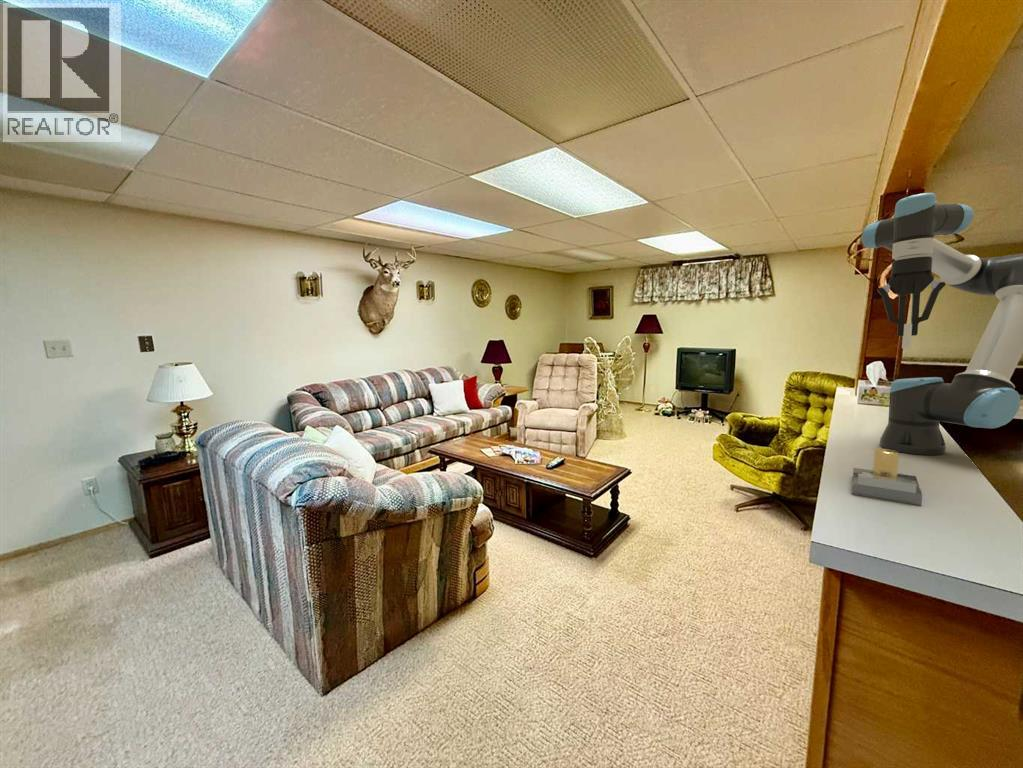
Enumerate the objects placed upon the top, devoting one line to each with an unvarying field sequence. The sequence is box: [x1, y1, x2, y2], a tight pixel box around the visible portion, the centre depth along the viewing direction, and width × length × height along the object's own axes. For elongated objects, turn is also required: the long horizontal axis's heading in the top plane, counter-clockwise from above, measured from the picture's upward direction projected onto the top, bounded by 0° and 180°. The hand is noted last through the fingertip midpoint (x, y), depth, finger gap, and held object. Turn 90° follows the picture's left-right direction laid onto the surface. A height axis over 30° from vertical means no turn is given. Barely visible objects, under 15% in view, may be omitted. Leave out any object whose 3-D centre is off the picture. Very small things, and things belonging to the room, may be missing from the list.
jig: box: [851, 467, 923, 506], centre depth 100 cm, size 14×12×5 cm
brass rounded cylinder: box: [872, 448, 900, 479], centre depth 99 cm, size 4×4×10 cm
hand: (906, 348), depth 107 cm, fingers closed
